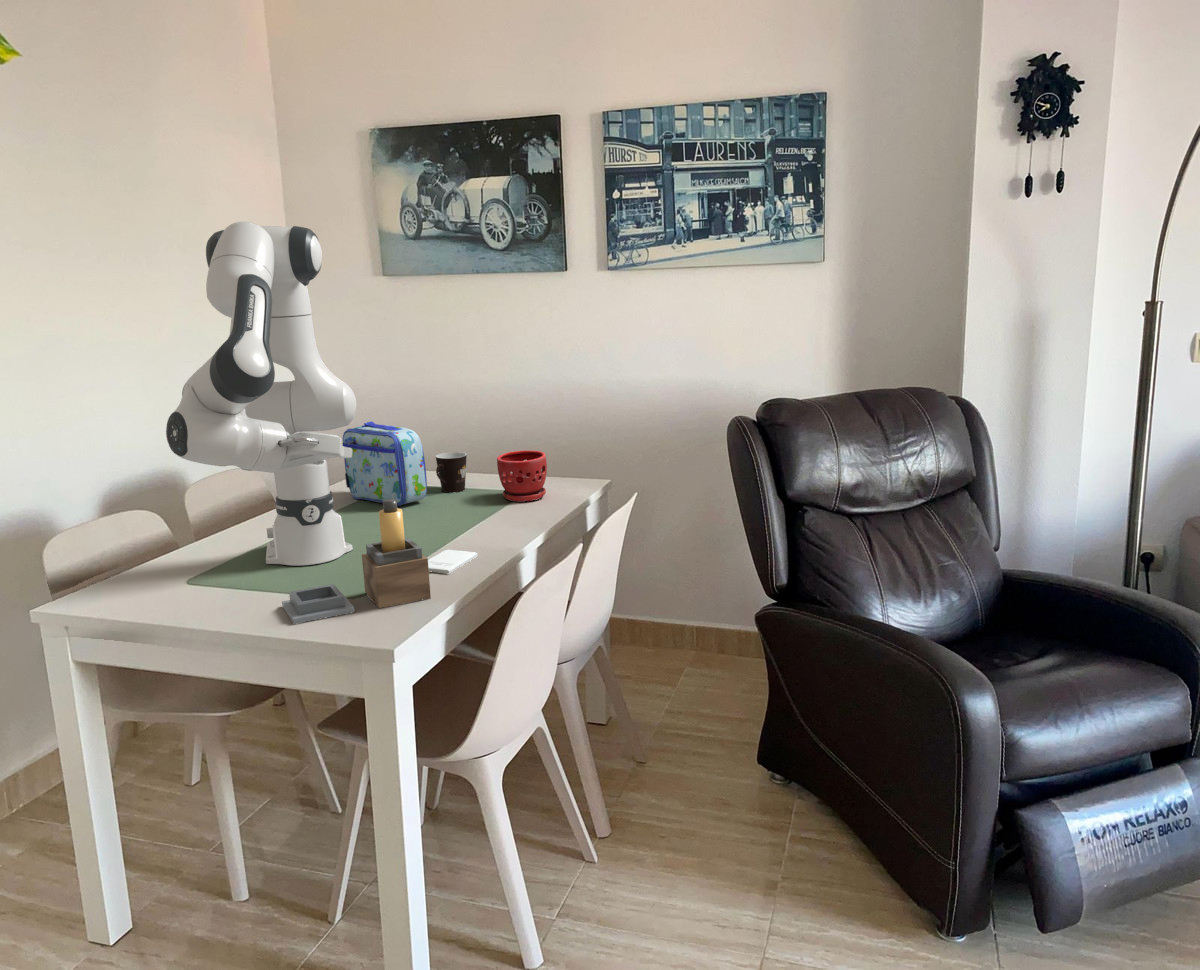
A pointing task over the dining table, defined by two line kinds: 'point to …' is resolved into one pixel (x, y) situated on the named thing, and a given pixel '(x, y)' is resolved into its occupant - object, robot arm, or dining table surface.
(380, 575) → the walnut stand
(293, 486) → the robot arm
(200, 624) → the dining table surface
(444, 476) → the coffee mug
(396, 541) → the yellow bottle
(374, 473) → the lunch box
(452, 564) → the external hard drive
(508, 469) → the plant pot
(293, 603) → the low socket
